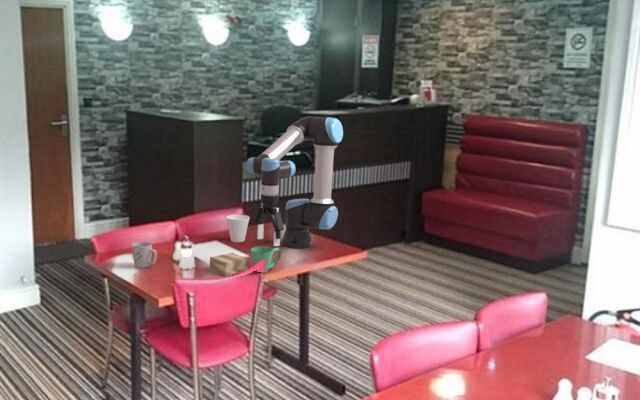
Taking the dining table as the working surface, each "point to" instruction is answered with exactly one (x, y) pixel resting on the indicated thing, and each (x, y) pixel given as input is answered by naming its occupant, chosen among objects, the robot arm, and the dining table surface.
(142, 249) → the mug
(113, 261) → the dining table surface
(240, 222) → the cup
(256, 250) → the mug
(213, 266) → the beech block
